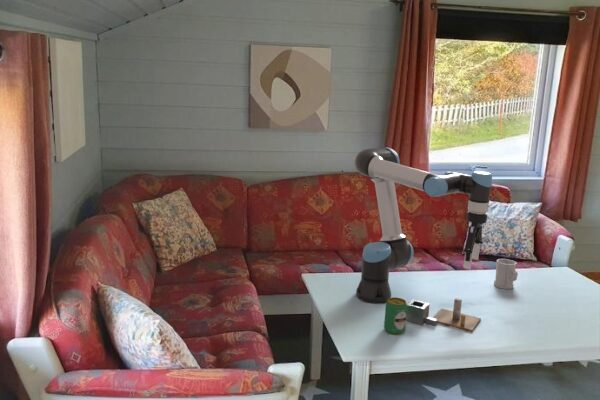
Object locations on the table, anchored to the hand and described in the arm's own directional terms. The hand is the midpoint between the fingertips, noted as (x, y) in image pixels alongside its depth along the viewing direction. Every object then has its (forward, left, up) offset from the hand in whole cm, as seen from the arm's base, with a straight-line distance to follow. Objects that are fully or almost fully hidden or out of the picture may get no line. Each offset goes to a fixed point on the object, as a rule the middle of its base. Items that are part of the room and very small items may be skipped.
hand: (470, 263), depth 218 cm
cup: (+6, +46, -23) cm, 52 cm away
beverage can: (-19, -29, -23) cm, 42 cm away
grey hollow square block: (-13, -16, -23) cm, 30 cm away
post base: (-2, -7, -23) cm, 24 cm away
